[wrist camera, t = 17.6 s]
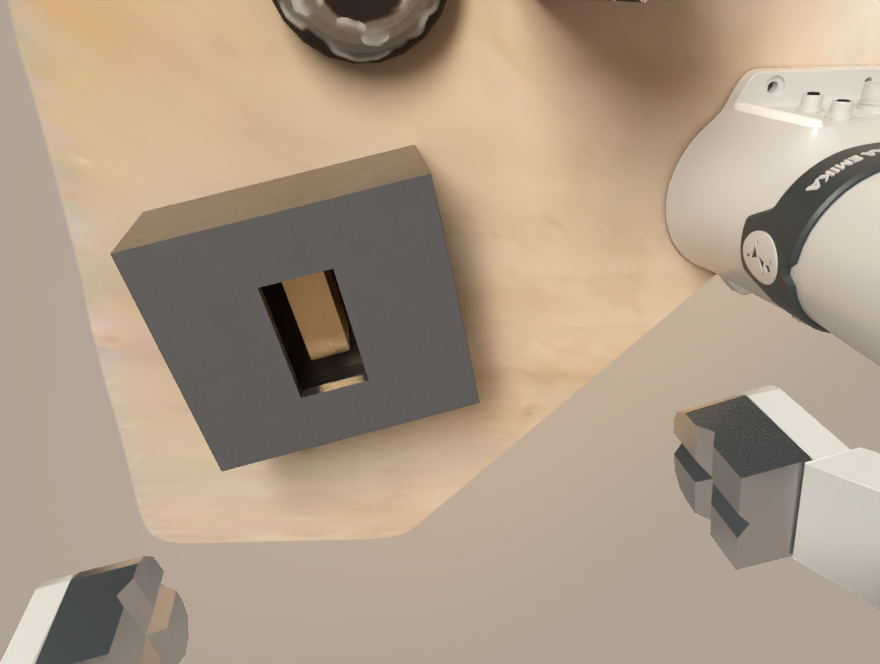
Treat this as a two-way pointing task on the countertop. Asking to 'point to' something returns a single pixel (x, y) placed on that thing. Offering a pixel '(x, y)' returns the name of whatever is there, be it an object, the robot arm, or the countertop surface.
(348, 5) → the donut
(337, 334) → the brown wooden block
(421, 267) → the post box
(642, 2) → the candy bar box
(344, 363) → the countertop surface
